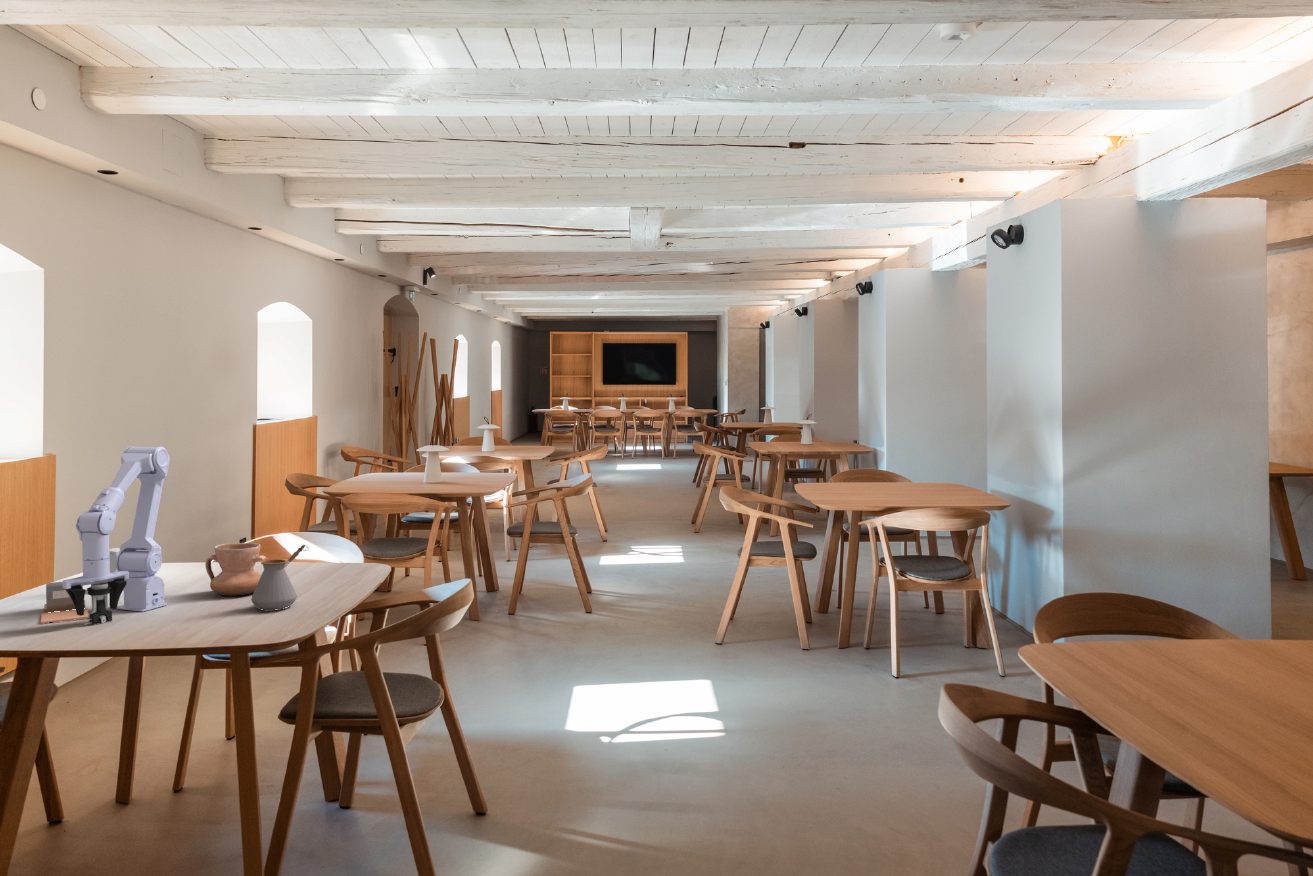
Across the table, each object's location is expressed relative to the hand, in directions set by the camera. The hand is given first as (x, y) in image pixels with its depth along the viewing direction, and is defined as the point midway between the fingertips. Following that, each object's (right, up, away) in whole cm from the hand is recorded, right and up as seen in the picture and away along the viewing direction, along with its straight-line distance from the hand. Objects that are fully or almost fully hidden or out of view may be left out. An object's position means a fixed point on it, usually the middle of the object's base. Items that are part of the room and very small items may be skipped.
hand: (97, 611), depth 213 cm
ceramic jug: (+18, -2, +35) cm, 39 cm away
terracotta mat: (-12, -3, +5) cm, 13 cm away
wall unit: (-18, -2, +14) cm, 23 cm away
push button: (0, -3, 0) cm, 3 cm away
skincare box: (-19, -1, +37) cm, 41 cm away
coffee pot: (+38, -3, +23) cm, 44 cm away
